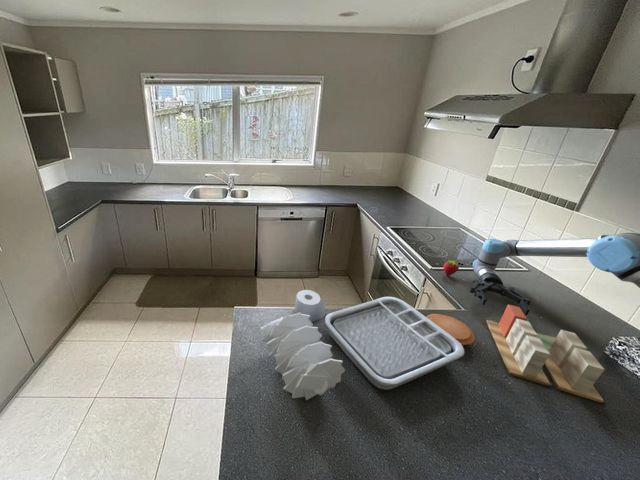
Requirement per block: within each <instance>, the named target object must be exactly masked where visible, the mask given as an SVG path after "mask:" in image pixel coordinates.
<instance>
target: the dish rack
mask: <svg viewBox="0 0 640 480" xmlns="http://www.w3.org/2000/svg"><path fill="white" fill-rule="evenodd" d="M324 317H325V318H324V324H325V325H326V327H327V330H328V334H329V335H330V336H331V338H332V339H333V341H334V342H336V344H337V345H338V347H340V349H341V350H342V352H344V353H345V355H346V356H347V357H348V358H349V359H350V361H351V362H352V363H353V364H354V365H355V367H356V368H357V369H359V371H360V372H361V373H362V374H363V375H364V376H365V378H367V380H368V381H369V382H370V383H371V384H372V385H374V387H376V388H378V389H380V390H385V391H386V390H392V389H395V388H398V387H400V386H402V385H405V384H407V383H409V382H412V381H414V380H415V379H417V378H420V377H423V376H424V375H427V374H430V373H431V372H434V371H436V370H438V369H440V368H443V367H445V366H447V365H448V364H450V363H452V362H454V361H456V360H459V359H462V357H463V356H464V355H465V348H464V346H462V345H461V343H459V342H458V341H457V340H456V339H455V338H453V337H452V336H451V335H450V334H448V333H447V332H446V331H444V330H443V329H441V328H440V327H439V326H437V325H436V324H435V323H433V322H432V321H431V320H429V319H428V318H426V317H427V316H425V315H424V314H423V313H421V312H420V311H418V310H417V309H415V307H413V306H411V305H410V304H408V303H407V302H405V301H404V300H402V299H400V298H397V297H394V296H382V297H379V298H376V299H374V300H370V301H367V302H363V303H360V304H357V305H353V306H350V307H347V308H343V309H339V310H336V311H333V312H330V313H328V314H326V315H325V316H324Z"/></svg>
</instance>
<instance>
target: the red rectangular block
mask: <svg viewBox="0 0 640 480" xmlns="http://www.w3.org/2000/svg"><path fill="white" fill-rule="evenodd" d="M516 319H521V320H525V321H528V318H527V316H526V315H524V313H523V312H522V310H521V309H520V307H519V306H517V305H512V304H510V303H509V304H507V306H506V308H505V310H504V312H503V313H502V316H501V318H500V320H499V322H498V323H499V324H498V325H499V327H500V329H501V331H502V333H503V335H504V337H507V336H508V334H509V332H510V330H511V328H512V326H513V324H514V322H515V320H516Z"/></svg>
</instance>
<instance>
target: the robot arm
mask: <svg viewBox="0 0 640 480" xmlns="http://www.w3.org/2000/svg"><path fill="white" fill-rule="evenodd" d="M508 257H549V258H551V257H554V258H555V257H556V258H587V260H588V261H589V263H590V264H591V265H592V266H593V267H595V268H596V269H598V270H600V271H603V272H606V273H611V274H612V275H613V276H615V277H616V278H617V279H618V280H620V281H621V282H624V283H625V282H626V283H631V284H634V285H635V286H636V287H638V288H639V289H640V233H638V232H622V233H616V234H601V235H599V236H598V237H584V238H583V237H582V238H551V239H520V240H519V239H507V240H500V239H497V238H487V239H485V241H484V242H483V244H482V247H481V250H480V253H479V255H478V258H476V259H475V260H474V261H473V262H472V268H473V272H474V273H475V276H477V278H476V279H475V281H474V283H473V284H472V285H471V287H470V289H469V292H468V293H470V294H473V296H474V297H476V298H477V299H479V300H480V303H481V305H483V306H485V305H486V303H487V301H488V299H487V297H486V295H485V293H488V292H490V293H495V294H498V295H500V296H502V297H506V298H507V299H510V300H511V301H512V302H514V303H516V304H517V305H518V306H517V307H520V309H521V310H522V312H523V313H524V315H525V316H526V317H527V316H528V315H529V313H530V311H531V310H530V308H529V307H530V305H531V302H532V300H530V299H529V298H528V297H526V296H524V295H523V294H521V293H520V292H519V291H517V290H516V289H515V288H514V287H512V286H509V287H506V286H505V285H504V282H503V280H502V278H501V277H500V275H499V273H498V272H497V271H496V268H497V266H498V264H499V261H500V260H501V259H504V258H508Z"/></svg>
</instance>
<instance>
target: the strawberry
mask: <svg viewBox="0 0 640 480" xmlns="http://www.w3.org/2000/svg"><path fill="white" fill-rule="evenodd" d="M458 270H459V265H458V263H457V262H456V260H455V259H454V260H450V259H448V260H446V262H444V263H443V271H444V273H445V275H446V276H447V277H450V276H452V275H453V274H455V273H457V271H458Z"/></svg>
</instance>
